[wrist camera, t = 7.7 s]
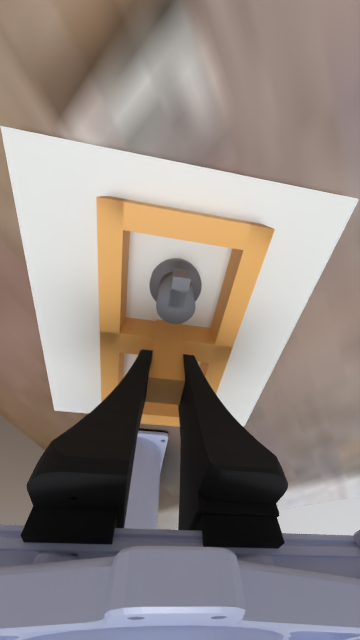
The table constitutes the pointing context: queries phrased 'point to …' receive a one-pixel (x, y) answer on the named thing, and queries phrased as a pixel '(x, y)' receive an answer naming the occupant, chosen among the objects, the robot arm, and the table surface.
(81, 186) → the board
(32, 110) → the table surface
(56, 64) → the table surface
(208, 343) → the orange link
